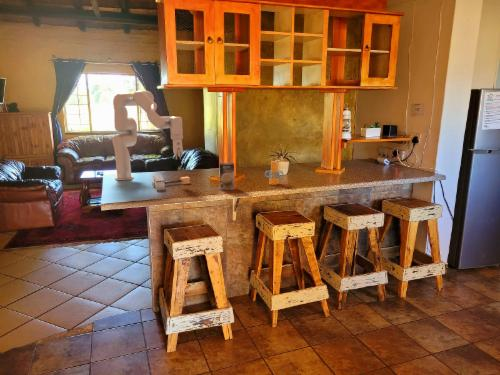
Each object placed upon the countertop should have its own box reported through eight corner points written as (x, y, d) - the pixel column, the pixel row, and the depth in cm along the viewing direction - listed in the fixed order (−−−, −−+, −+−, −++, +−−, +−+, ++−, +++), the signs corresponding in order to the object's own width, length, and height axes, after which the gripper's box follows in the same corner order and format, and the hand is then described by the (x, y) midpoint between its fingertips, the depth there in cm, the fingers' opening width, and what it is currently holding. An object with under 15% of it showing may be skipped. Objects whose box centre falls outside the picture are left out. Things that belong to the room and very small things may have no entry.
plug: (152, 186, 236) (152, 180, 235) (187, 182, 248) (187, 176, 247) (154, 187, 233) (154, 181, 232) (189, 183, 245) (189, 177, 244)
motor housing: (153, 183, 244) (153, 174, 243) (161, 183, 246) (160, 174, 244) (156, 190, 226) (155, 180, 224) (164, 189, 227) (164, 180, 226)
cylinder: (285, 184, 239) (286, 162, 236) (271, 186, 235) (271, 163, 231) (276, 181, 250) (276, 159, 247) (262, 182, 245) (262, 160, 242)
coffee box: (219, 190, 226) (218, 164, 222) (220, 187, 232) (219, 162, 228) (234, 190, 226) (234, 164, 222) (234, 187, 232) (234, 162, 229)
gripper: (184, 137, 226) (186, 167, 231) (180, 135, 241) (182, 163, 245) (172, 138, 224) (174, 167, 228) (169, 135, 239) (170, 163, 243)
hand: (178, 165), depth 237 cm, fingers closed
